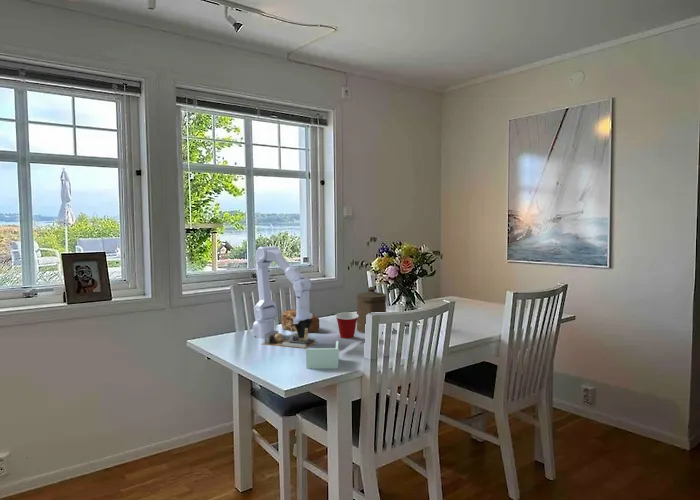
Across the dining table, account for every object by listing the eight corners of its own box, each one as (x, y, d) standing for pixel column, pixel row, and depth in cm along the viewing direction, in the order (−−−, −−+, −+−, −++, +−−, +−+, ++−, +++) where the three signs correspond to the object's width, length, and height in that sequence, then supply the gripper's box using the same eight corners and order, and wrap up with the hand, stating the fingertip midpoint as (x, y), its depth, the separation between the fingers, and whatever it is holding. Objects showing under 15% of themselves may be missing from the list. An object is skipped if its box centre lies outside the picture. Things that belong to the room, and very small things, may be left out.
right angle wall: (338, 359, 200) (338, 340, 200) (338, 368, 188) (337, 349, 188) (308, 359, 200) (308, 341, 200) (306, 368, 188) (306, 349, 188)
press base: (260, 347, 219) (260, 335, 218) (274, 341, 230) (274, 329, 229) (305, 352, 210) (305, 339, 210) (317, 345, 222) (317, 333, 221)
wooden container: (391, 328, 252) (391, 285, 251) (377, 334, 240) (377, 289, 238) (366, 325, 260) (365, 284, 259) (351, 331, 248) (350, 287, 246)
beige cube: (289, 345, 216) (289, 329, 216) (296, 341, 222) (296, 326, 222) (303, 346, 214) (302, 330, 213) (310, 342, 220) (309, 327, 219)
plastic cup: (338, 343, 224) (338, 317, 223) (333, 338, 234) (332, 313, 233) (361, 342, 227) (361, 316, 226) (355, 336, 237) (354, 311, 236)
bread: (280, 329, 254) (280, 310, 253) (297, 326, 261) (296, 307, 260) (304, 335, 240) (303, 315, 240) (320, 331, 248) (320, 312, 247)
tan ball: (272, 342, 221) (272, 333, 220) (277, 340, 224) (277, 331, 224) (280, 343, 219) (280, 334, 219) (285, 341, 223) (284, 332, 223)
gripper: (303, 309, 208) (304, 341, 209) (318, 303, 221) (318, 333, 222) (288, 308, 211) (289, 340, 212) (304, 302, 224) (304, 332, 225)
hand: (303, 336), depth 217 cm, fingers open, 3 cm apart
